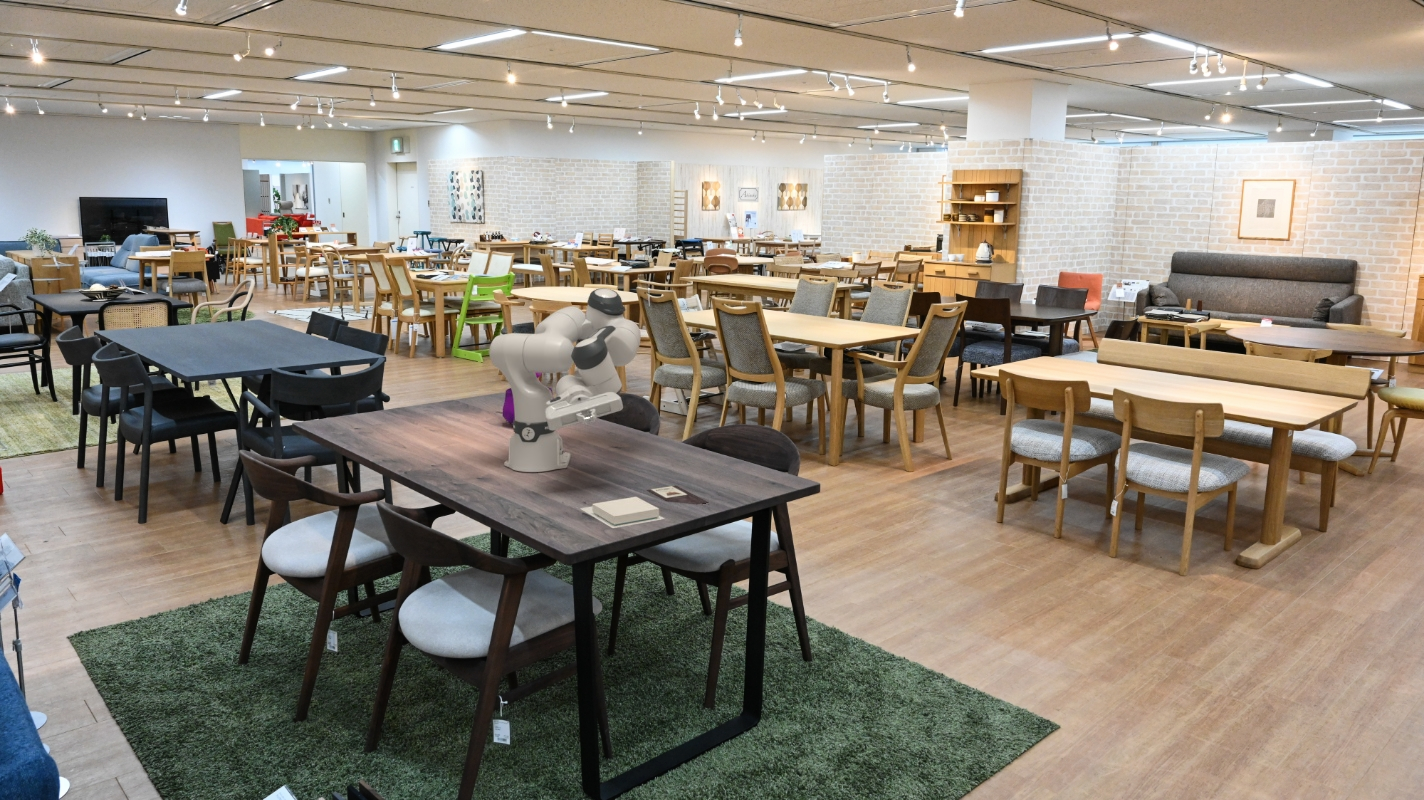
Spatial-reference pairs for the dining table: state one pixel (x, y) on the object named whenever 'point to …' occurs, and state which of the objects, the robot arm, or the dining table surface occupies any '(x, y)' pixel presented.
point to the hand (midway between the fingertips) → (589, 420)
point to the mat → (590, 512)
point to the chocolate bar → (676, 495)
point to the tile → (625, 510)
